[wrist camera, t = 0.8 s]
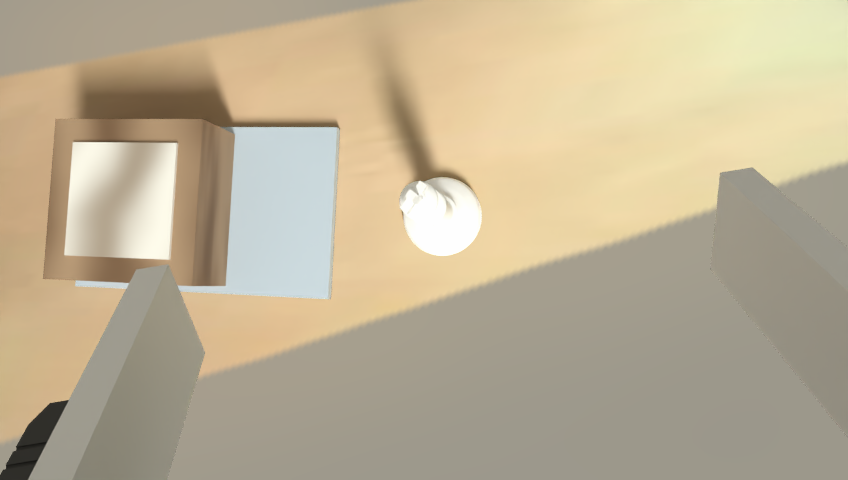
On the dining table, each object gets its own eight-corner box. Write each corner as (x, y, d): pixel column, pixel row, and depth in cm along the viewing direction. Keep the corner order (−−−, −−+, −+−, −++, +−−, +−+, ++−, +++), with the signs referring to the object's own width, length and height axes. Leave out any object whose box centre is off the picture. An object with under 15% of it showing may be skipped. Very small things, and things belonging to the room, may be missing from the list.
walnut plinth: (239, 136, 45) (201, 118, 40) (230, 286, 44) (190, 286, 39) (105, 135, 46) (53, 118, 42) (94, 279, 46) (40, 278, 41)
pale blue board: (339, 129, 43) (337, 127, 43) (330, 298, 43) (327, 299, 42) (93, 128, 47) (87, 126, 46) (81, 286, 46) (75, 286, 45)
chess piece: (388, 225, 42) (341, 207, 33) (434, 162, 42) (400, 124, 32) (450, 271, 41) (421, 267, 32) (497, 207, 41) (482, 182, 31)
